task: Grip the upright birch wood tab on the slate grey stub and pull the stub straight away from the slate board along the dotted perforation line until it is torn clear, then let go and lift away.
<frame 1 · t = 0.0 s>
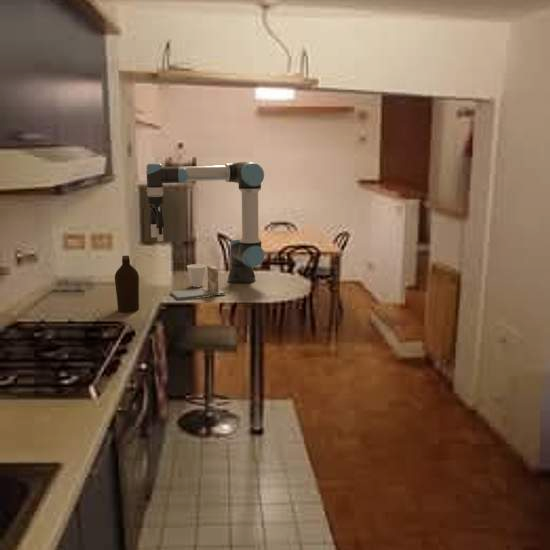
hand: (157, 239, 305), 28 cm above the table, tool pointing down, fingers open, 13 cm apart
olive oil: (128, 310, 282), on the table
stub: (212, 280, 312), point 7 cm above the table, slide at 0.0 cm
cup: (196, 286, 328), on the table
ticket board: (189, 295, 309), on the table
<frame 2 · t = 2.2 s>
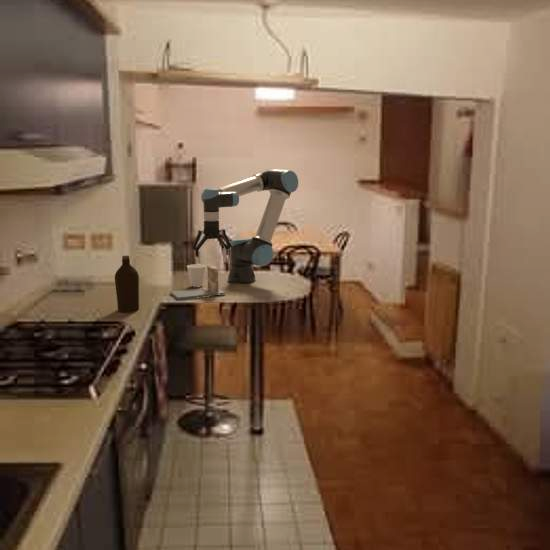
hand: (211, 262, 310), 16 cm above the table, tool pointing down, fingers open, 13 cm apart
nothing on the table moved.
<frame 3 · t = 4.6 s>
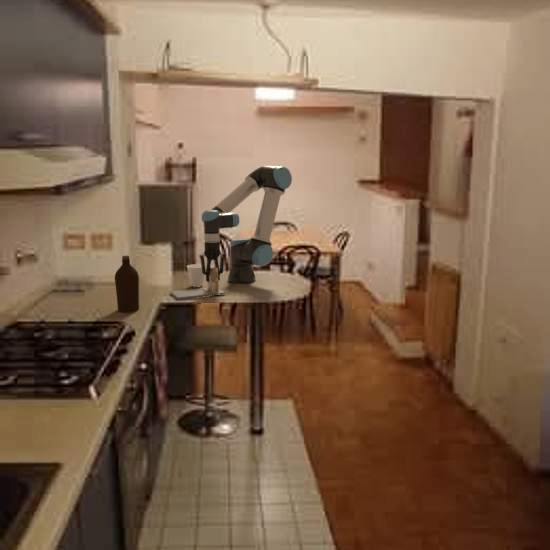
hand: (213, 287, 313), 3 cm above the table, tool pointing down, fingers closed on stub, 3 cm apart
stub: (212, 280, 312), point 7 cm above the table, slide at 0.0 cm, touching gripper
everything else where it was.
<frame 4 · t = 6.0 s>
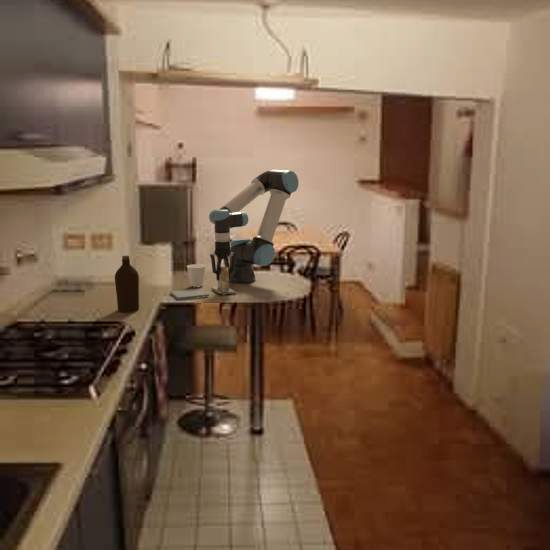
hand: (223, 286, 315), 3 cm above the table, tool pointing down, fingers closed on stub, 3 cm apart
stub: (223, 279, 314), point 7 cm above the table, slide at 5.5 cm, touching gripper
everything else where it was.
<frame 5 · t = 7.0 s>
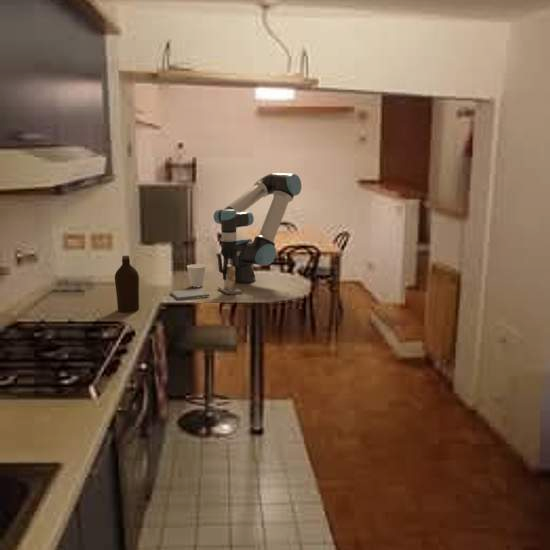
hand: (229, 285, 316), 3 cm above the table, tool pointing down, fingers closed on stub, 3 cm apart
stub: (229, 278, 316), point 7 cm above the table, slide at 8.9 cm, touching gripper
everything else where it was.
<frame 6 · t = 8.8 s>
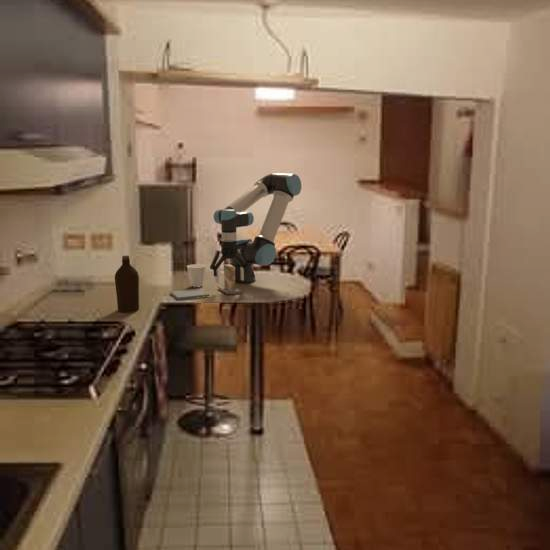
hand: (229, 281, 316), 5 cm above the table, tool pointing down, fingers open, 13 cm apart
stub: (229, 278, 316), point 7 cm above the table, slide at 9.0 cm
everything else where it was.
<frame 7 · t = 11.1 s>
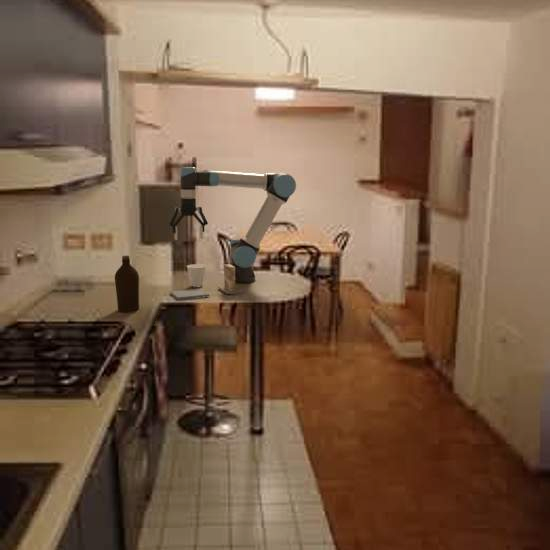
hand: (188, 239, 320), 26 cm above the table, tool pointing down, fingers open, 13 cm apart
nothing on the table moved.
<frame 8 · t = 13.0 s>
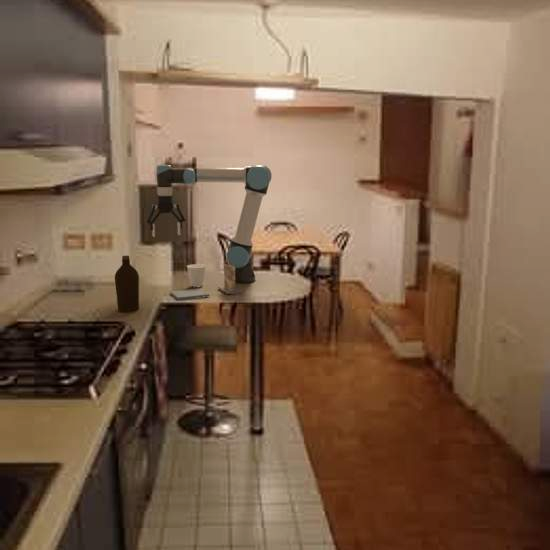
hand: (166, 235, 326), 27 cm above the table, tool pointing down, fingers open, 13 cm apart
nothing on the table moved.
at the end: stub slide at 9.0 cm; the gripper is holding nothing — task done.
